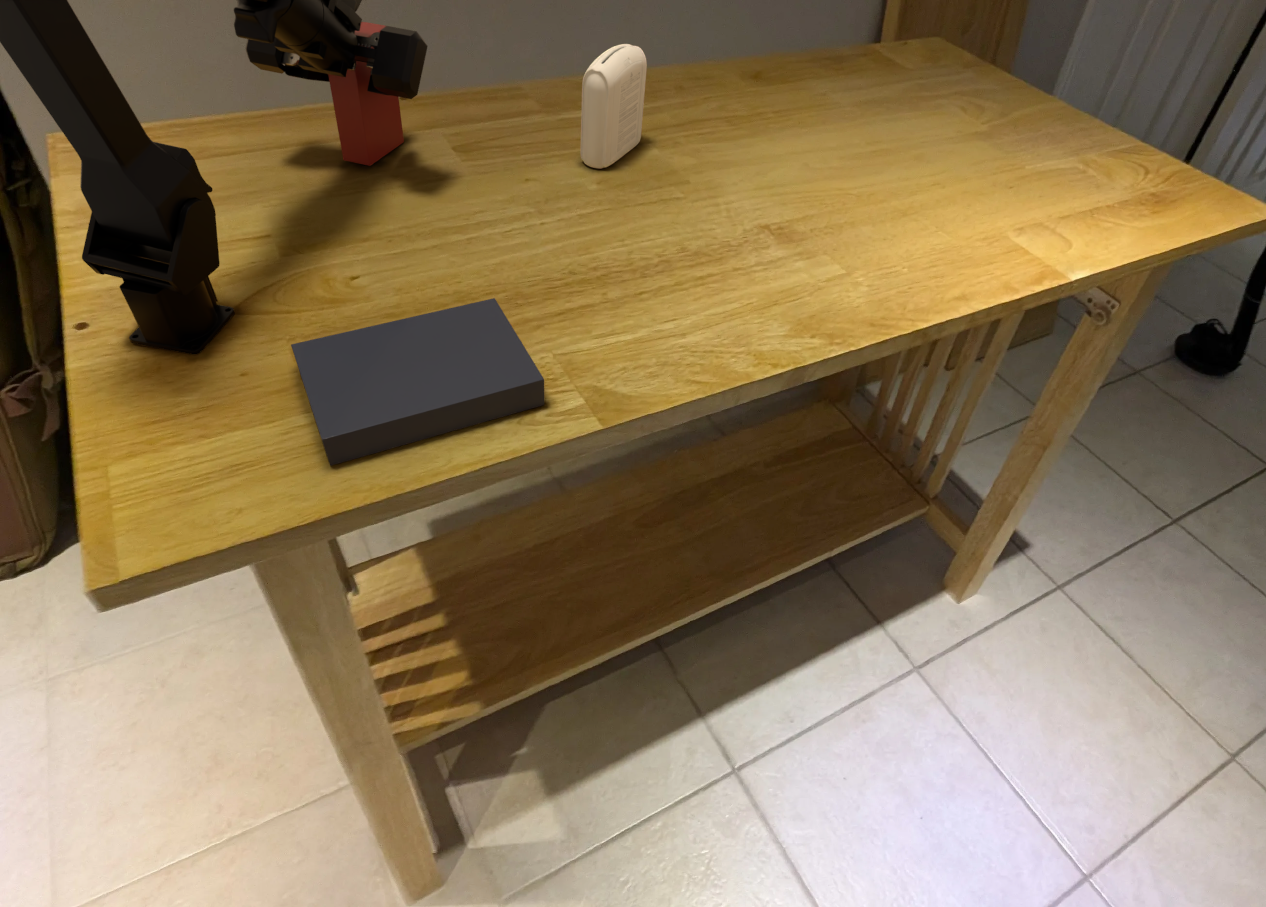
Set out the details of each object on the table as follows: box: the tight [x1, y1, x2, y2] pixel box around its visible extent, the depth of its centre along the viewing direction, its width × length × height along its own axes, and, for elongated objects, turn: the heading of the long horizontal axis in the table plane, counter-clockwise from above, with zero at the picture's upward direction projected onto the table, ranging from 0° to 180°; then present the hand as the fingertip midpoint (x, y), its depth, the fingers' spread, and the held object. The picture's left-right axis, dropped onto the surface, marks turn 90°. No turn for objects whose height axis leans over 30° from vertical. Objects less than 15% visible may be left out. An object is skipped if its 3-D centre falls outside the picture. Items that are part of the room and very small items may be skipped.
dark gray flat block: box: [290, 297, 546, 467], centre depth 67 cm, size 18×12×3 cm, turn 117°
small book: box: [328, 21, 405, 167], centre depth 90 cm, size 8×4×13 cm, turn 163°
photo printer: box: [580, 43, 648, 169], centre depth 95 cm, size 10×4×12 cm, turn 151°
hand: (373, 84), depth 91 cm, fingers closed on small book, 5 cm apart
